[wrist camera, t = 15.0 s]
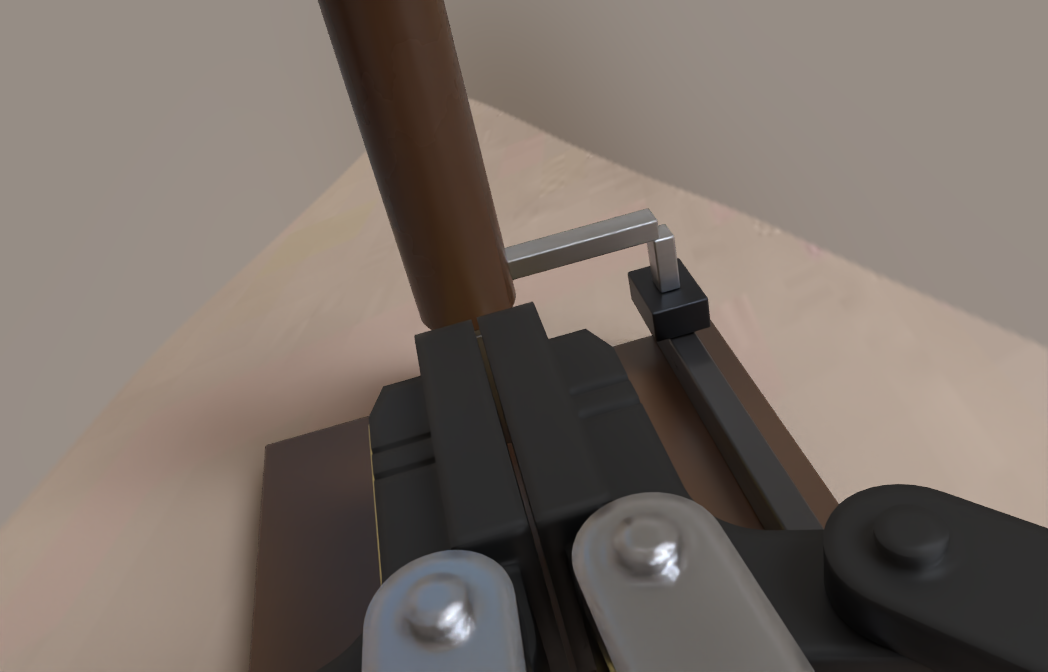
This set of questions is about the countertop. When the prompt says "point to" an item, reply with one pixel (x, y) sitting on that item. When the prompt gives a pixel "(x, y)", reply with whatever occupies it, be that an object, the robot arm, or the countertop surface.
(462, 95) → the wooden handled slicer
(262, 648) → the butter board
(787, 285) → the countertop surface
